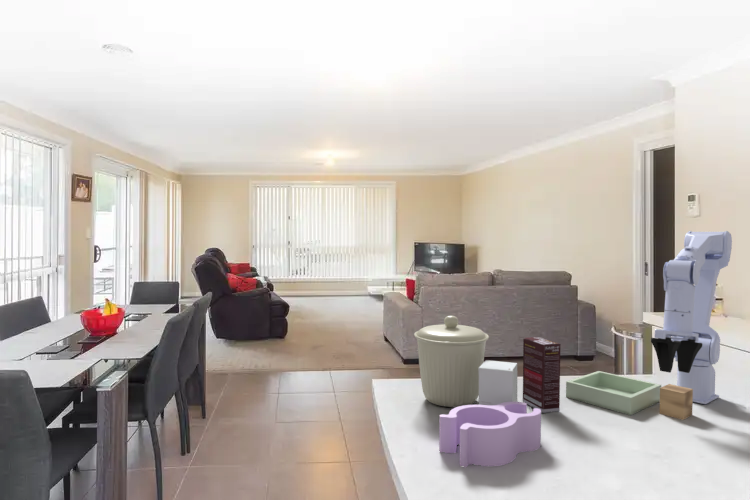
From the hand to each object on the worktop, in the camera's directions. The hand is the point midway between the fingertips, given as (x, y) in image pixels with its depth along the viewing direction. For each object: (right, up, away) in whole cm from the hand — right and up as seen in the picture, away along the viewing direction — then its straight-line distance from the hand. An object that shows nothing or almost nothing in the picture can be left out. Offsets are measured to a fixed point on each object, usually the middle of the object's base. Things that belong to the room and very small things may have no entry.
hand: (674, 371), depth 114 cm
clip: (-46, -11, -18) cm, 50 cm away
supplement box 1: (-41, -10, -4) cm, 43 cm away
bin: (-9, -9, +11) cm, 17 cm away
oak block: (+1, -10, +1) cm, 10 cm away
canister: (-50, -10, +10) cm, 51 cm away
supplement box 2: (-29, -10, +6) cm, 31 cm away
